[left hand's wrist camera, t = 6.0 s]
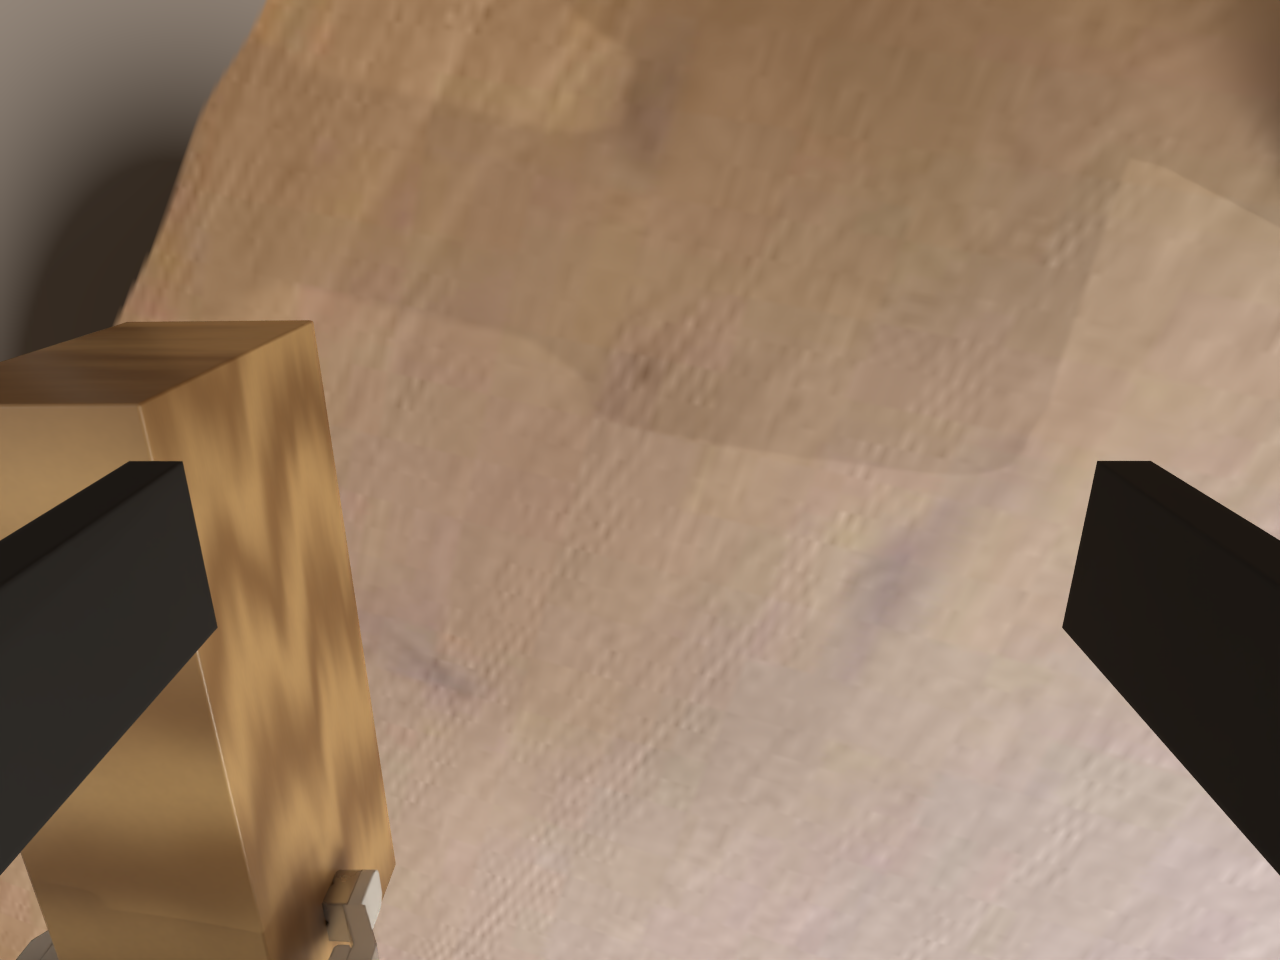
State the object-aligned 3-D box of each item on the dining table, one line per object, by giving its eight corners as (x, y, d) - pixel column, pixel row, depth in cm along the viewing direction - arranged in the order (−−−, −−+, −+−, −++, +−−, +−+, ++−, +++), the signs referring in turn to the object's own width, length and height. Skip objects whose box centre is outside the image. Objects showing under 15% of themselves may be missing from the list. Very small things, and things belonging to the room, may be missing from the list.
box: (126, 321, 29) (-141, 405, 19) (313, 319, 29) (139, 403, 19) (251, 863, 38) (109, 1108, 28) (396, 864, 37) (304, 1110, 28)
